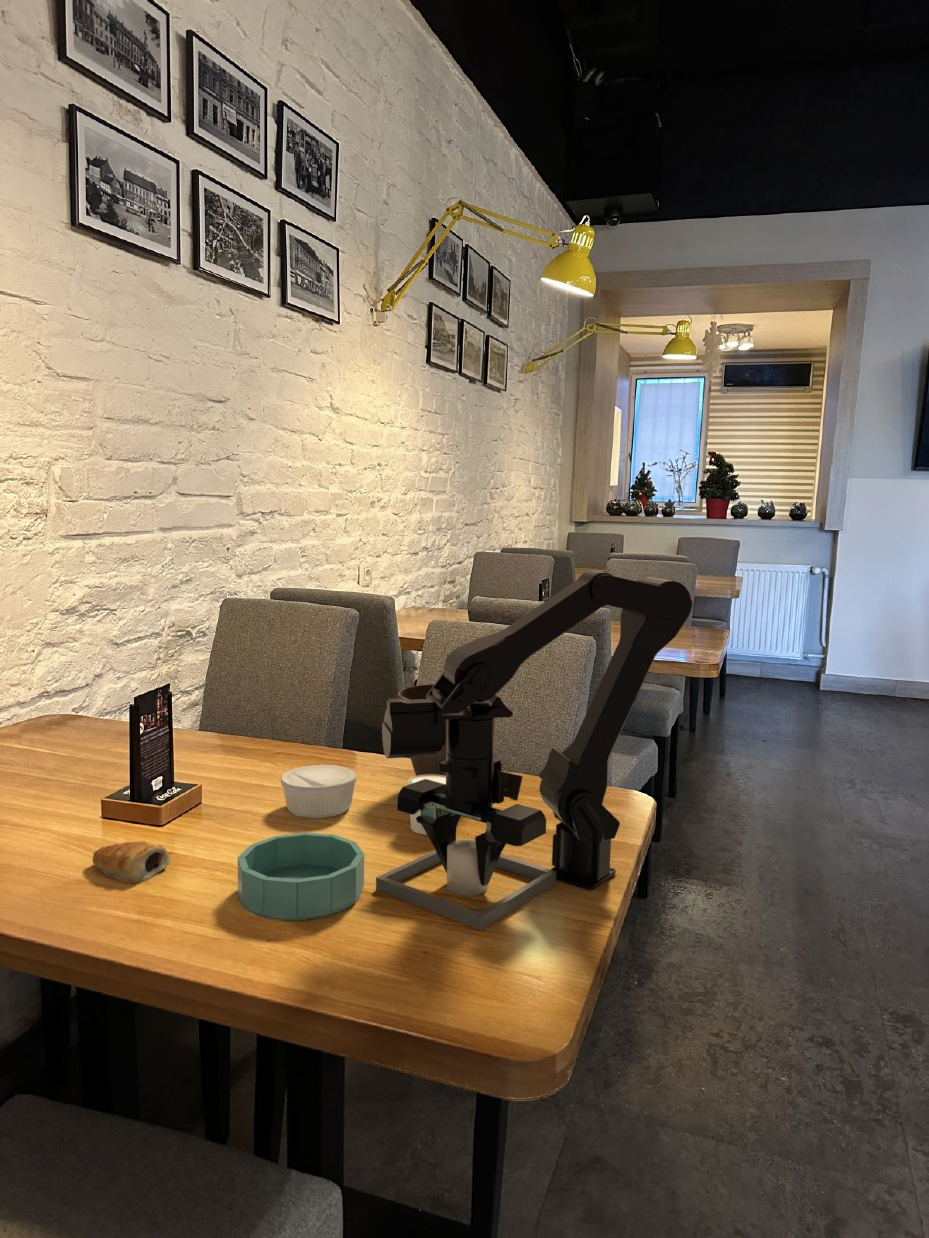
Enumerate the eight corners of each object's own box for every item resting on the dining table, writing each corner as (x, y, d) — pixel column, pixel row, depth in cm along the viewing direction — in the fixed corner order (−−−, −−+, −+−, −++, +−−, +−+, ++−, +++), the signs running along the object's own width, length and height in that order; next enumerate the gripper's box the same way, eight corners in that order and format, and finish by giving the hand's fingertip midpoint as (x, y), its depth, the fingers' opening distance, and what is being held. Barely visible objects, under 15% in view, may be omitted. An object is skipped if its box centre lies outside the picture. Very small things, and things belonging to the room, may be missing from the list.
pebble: (495, 885, 103) (496, 846, 102) (471, 899, 99) (472, 858, 98) (463, 874, 106) (464, 836, 105) (438, 887, 102) (438, 847, 101)
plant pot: (497, 800, 134) (499, 701, 132) (403, 805, 131) (405, 704, 129) (476, 772, 148) (478, 683, 146) (392, 775, 145) (393, 684, 143)
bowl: (386, 889, 101) (387, 853, 101) (295, 933, 90) (295, 893, 89) (306, 857, 110) (306, 824, 109) (214, 894, 99) (213, 857, 98)
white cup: (397, 830, 120) (397, 783, 119) (421, 815, 126) (422, 770, 125) (439, 839, 117) (440, 791, 116) (462, 824, 123) (463, 778, 122)
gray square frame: (556, 883, 104) (556, 871, 104) (480, 930, 92) (480, 917, 91) (456, 850, 113) (456, 839, 113) (375, 889, 101) (376, 877, 101)
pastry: (78, 873, 104) (77, 844, 104) (119, 854, 110) (118, 826, 110) (137, 887, 101) (136, 857, 100) (176, 867, 107) (176, 838, 106)
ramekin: (268, 817, 124) (268, 782, 124) (300, 793, 135) (300, 761, 135) (339, 825, 122) (339, 790, 121) (366, 800, 133) (366, 768, 132)
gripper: (572, 753, 101) (568, 878, 103) (451, 727, 112) (449, 840, 114) (520, 775, 92) (516, 910, 94) (394, 744, 104) (393, 865, 106)
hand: (467, 878), depth 102 cm, fingers closed on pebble, 5 cm apart
